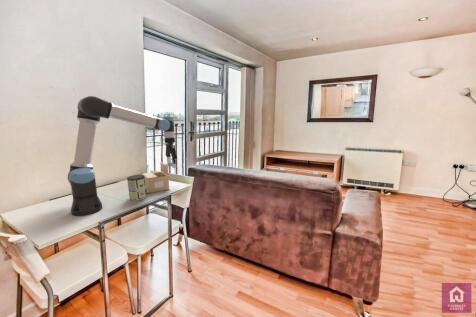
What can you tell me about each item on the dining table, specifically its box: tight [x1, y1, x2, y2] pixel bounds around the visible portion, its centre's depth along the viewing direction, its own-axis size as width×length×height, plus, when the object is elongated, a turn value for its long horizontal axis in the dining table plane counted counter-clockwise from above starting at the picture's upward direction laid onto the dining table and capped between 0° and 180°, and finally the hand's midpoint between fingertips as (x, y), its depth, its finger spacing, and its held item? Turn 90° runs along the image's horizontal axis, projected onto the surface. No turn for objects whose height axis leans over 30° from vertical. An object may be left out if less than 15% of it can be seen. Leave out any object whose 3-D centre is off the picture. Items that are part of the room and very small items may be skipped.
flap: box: [160, 161, 172, 176], centre depth 177 cm, size 8×17×7 cm
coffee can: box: [126, 174, 147, 201], centre depth 154 cm, size 10×10×14 cm
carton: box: [141, 171, 170, 194], centre depth 173 cm, size 14×18×11 cm
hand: (171, 166), depth 179 cm, fingers open, 11 cm apart
